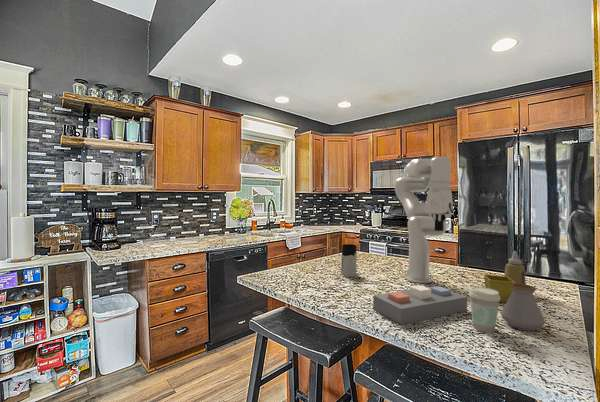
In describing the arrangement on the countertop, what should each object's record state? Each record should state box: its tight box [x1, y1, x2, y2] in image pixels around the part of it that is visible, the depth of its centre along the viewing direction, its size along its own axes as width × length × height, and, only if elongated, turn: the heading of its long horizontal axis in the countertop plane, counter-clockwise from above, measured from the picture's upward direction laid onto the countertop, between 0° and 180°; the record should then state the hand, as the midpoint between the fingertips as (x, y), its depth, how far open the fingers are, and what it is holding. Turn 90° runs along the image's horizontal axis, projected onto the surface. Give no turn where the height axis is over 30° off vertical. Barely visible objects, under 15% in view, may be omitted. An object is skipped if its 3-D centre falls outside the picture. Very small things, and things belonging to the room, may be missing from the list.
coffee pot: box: [500, 270, 546, 332], centre depth 100 cm, size 21×12×15 cm, turn 143°
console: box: [372, 285, 468, 325], centre depth 108 cm, size 14×31×5 cm, turn 114°
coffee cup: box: [468, 286, 501, 333], centre depth 94 cm, size 8×8×12 cm
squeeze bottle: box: [503, 250, 527, 285], centre depth 131 cm, size 8×8×18 cm
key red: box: [388, 291, 410, 303], centre depth 104 cm, size 5×5×5 cm
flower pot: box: [483, 274, 515, 303], centre depth 120 cm, size 9×9×9 cm
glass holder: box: [329, 243, 358, 277], centre depth 157 cm, size 9×14×15 cm, turn 89°
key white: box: [409, 284, 431, 300], centre depth 108 cm, size 5×5×5 cm
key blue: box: [430, 285, 452, 296], centre depth 112 cm, size 5×5×5 cm
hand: (438, 230), depth 125 cm, fingers closed
